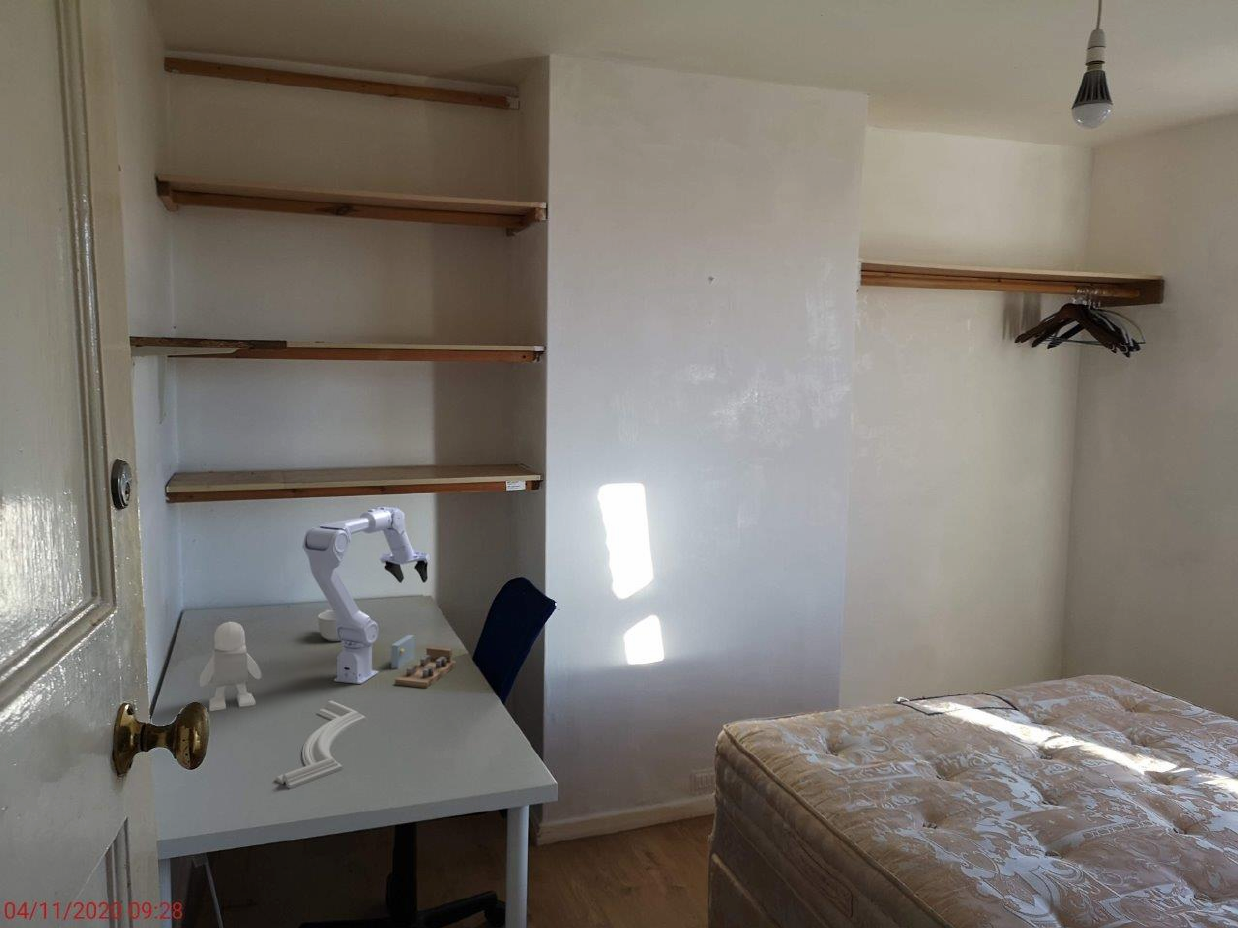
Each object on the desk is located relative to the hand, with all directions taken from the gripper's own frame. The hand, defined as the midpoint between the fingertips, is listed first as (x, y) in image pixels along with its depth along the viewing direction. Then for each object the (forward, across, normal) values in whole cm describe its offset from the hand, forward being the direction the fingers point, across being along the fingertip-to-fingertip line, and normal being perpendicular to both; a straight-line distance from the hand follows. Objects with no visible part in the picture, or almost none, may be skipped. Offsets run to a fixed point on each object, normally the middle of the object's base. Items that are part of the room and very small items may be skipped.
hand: (413, 580), depth 256 cm
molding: (-11, -9, +68) cm, 70 cm away
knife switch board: (+11, -11, +26) cm, 31 cm away
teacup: (+19, +31, +4) cm, 37 cm away
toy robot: (-6, +25, +53) cm, 59 cm away
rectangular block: (+14, 0, +19) cm, 24 cm away
